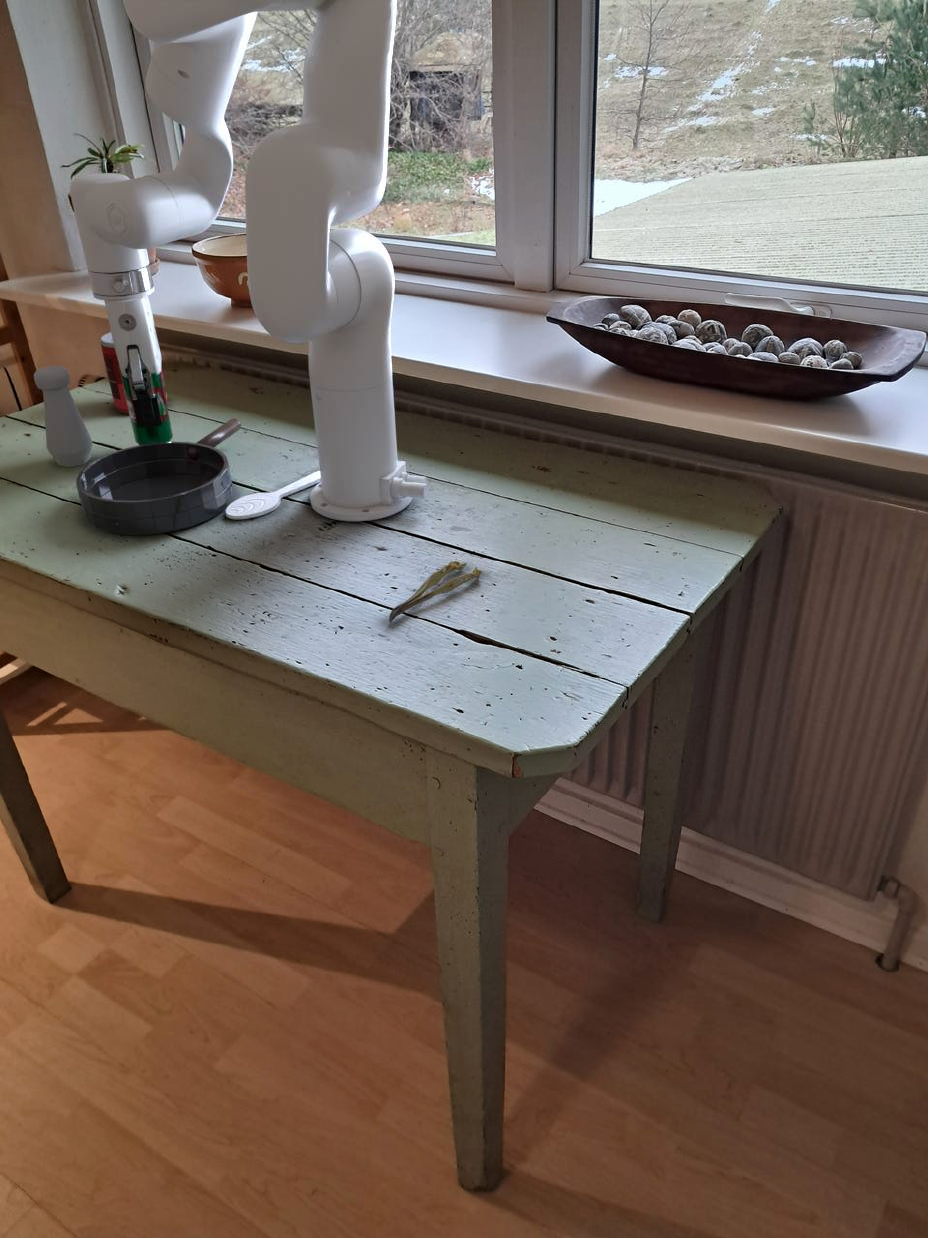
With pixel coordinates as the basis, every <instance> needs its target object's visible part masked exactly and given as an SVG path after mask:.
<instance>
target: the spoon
mask: <svg viewBox="0 0 928 1238" xmlns="http://www.w3.org/2000/svg"><path fill="white" fill-rule="evenodd" d="M320 482H321V476H320V469H319V470H317V471H314V472H311V474H308V475H306V476H304V477H301V478H300V479H298V480H295V482H293V481H292V483H290V484H287V485H285V486H284V487H282V488H278V489H277V490H275V491H274V490H273V491H269V492H268V491H265V492H264V491H263V492H260V491H259V492H254V493H249V494H247V495H243V496H241V497H239V498H237V499H235V500H234V501H231V502H230V503H229V504H228V506H227V507H226V509H225V516H226V517H227V518H228V519H230V520H231V519H232V520H246V519H247V520H248V519H252V518H257V517H261V516H264V515H267V514H268V513H271V512H274V511H275V510H276V509H278V508H279V506H280V505H281V499H283V498H284V497H287V496H289V495H292V494H294V493H295V494H296V493H297V492H299V491H301V490H305V489H307V488H309V487H311V486H314V485H317V484H319V483H320Z"/></svg>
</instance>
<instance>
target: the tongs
mask: <svg viewBox="0 0 928 1238" xmlns="http://www.w3.org/2000/svg"><path fill="white" fill-rule="evenodd" d="M467 565H468V563H467V562H464V563H461V561H458V560H453V561H452V560H451V561H450V562H449V563H448V564H447V565H444V566H443V567H441V568H440V569H438V570H436V571H435V572H433V573H432V574H431V575H429V577H427V578H426V580H425V581H424V582H423V583H422V584H421V586H420V587H419V588H418V590H417V591H415V593H414V594H412V595H411V596H410V597H409V598H408V599H407V600H406V601H404V602H402V603H400V604H398V605H396V606H395V607H393V609H391V612H390V613H389V617H388V621H389V624H390V625H391V624H392V623H393V621H394V620H395V619H396V617H398V616H400V615H402V614H403V613H405V612H406V611H408V610H410V609H412V608H414V607H416V606H417V605H420V604H422V603H424V602H426V601H429V600H431V599H432V598H434V597H435V596H437V595H440V594H443V593H447V592H453V590H455V589H457V588H459V587H460V586H462V585H464V584H466V583H468V582H470V581H472V580H473V579H475V578H480V576H481V575H482V574H483V573H484V571H483V570H482V569H479V568H478V567H477V566H474V569H473V571H472V572H466V573H464V574H462V575H460V576H456V577H453V578H451V579H450V580H448V581H447V582H445V583H443V584H442V585H440V586H438V587H437V588H435V589H433V590H431V591H428V592H426V591H427V590H429V589H430V588H432V587H435V586H437V585H438V584H439V583H440V582H441V580H442V579H443V578H444V577H446V576H447V575H449V574H450V573H453V572H455V571H462V570H463V569H465V568H466V567H467Z"/></svg>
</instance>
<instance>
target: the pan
mask: <svg viewBox="0 0 928 1238" xmlns="http://www.w3.org/2000/svg"><path fill="white" fill-rule="evenodd" d="M191 447H193V448H195V449H196V450H197V451H198V453H199V458H198V459H196V460H194V459H191V458H190V457H189V456H188V453H187V451H188V449H189V448H191ZM231 475H232V474H231V469H230V463H229V460H228V458H227V455H226V454H225V453H224V452H222V451H221V450H220V449H218V448H216V447H211V446H207V445H204V444H199V443H197V442H191V441H190V442H189V441H170V442H159V443H151V444H144V445H139V444H137V445H134V446H129V447H125V448H122V449H118V450H116V451H112V452H109V453H107V454H105V455H103V456H100V457H98V458H96V459H94V460H93V461H91V462H90V463H88V464H86V466H84V467H83V468H82V469H81V470H80V471H79V472H78V474H77V476H76V477H75V485H76V490H77V493H78V494H77V495H78V496H79V501H80V506H81V509H82V513H83V516H84V518H85V519H86V521H87V523H88V524H90V525H91V526H93V527H95V528H96V529H99V530H101V531H104V532H108V533H113V534H117V535H125V536H152V535H160V534H167V533H172V532H177V531H181V530H185V529H188V528H191V527H194V526H197V525H199V524H201V523H204V522H206V521H208V520H210V519H212V518H213V517H215V516H217V515H218V514H220V513H221V512H222V511H224V510H225V508H226V509H227V508H228V506H229V505H230V504H231V503H232V500H233V496H234V488H233V482H232V476H231Z"/></svg>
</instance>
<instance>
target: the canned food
mask: <svg viewBox="0 0 928 1238" xmlns="http://www.w3.org/2000/svg"><path fill="white" fill-rule="evenodd" d="M99 341H100V347H101V352H102V353H101V354H102V357H103V360H104V361H103V362H104V366H105V369H106V375H107V378H108V382H109V387H110V392H111V395H112V399H113V403H114V406H115V408H116V410H117V411H118V412H120V413H121V414H126V415H129V410H128V406H127V401H126V397H125V392H124V388H123V383H122V379H121V374H120V370H119V362H118V358H117V354H116V350H115V346H114V342H113V338H112V334H111V331H110V332H108V333H105V334H104V335H102V336H101V337H100V338H99ZM160 373H161V378H162V383H163V388H164V393H165V398H166V403H167V402H168V394H167V390H166V384H165V379H164V374H163V369H162V367H161V372H160Z"/></svg>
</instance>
